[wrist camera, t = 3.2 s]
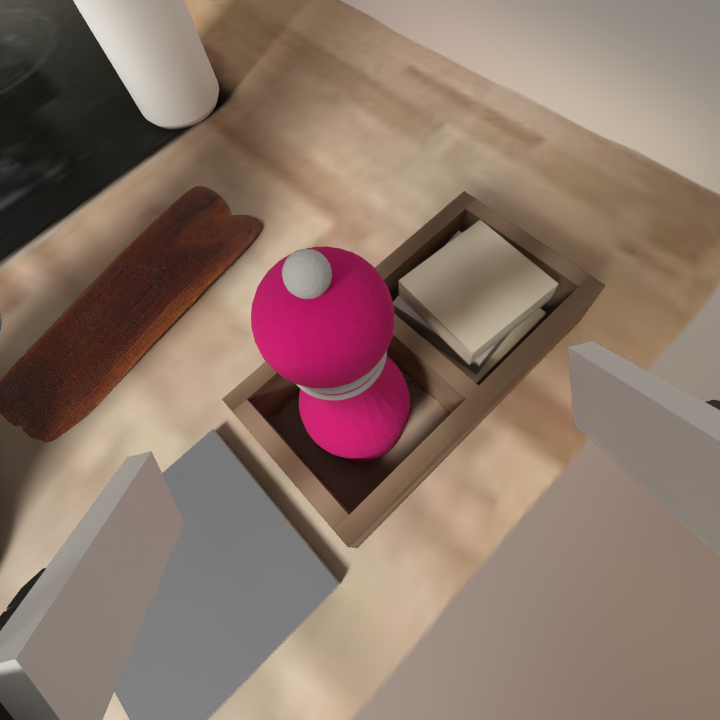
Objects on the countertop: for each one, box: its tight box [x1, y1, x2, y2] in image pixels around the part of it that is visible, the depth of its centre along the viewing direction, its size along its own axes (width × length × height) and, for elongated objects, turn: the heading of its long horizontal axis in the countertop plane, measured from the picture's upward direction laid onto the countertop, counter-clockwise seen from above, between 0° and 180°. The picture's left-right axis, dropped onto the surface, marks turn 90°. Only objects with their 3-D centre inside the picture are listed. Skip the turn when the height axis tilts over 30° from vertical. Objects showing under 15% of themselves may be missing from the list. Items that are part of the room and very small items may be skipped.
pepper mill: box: [251, 247, 410, 462], centre depth 25 cm, size 7×7×20 cm
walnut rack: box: [222, 191, 605, 548], centre depth 33 cm, size 12×24×5 cm, turn 133°
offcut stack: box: [393, 220, 558, 385], centre depth 33 cm, size 9×9×6 cm
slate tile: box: [115, 430, 341, 720], centre depth 30 cm, size 14×14×1 cm
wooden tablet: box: [0, 186, 262, 443], centre depth 40 cm, size 27×10×2 cm, turn 143°
